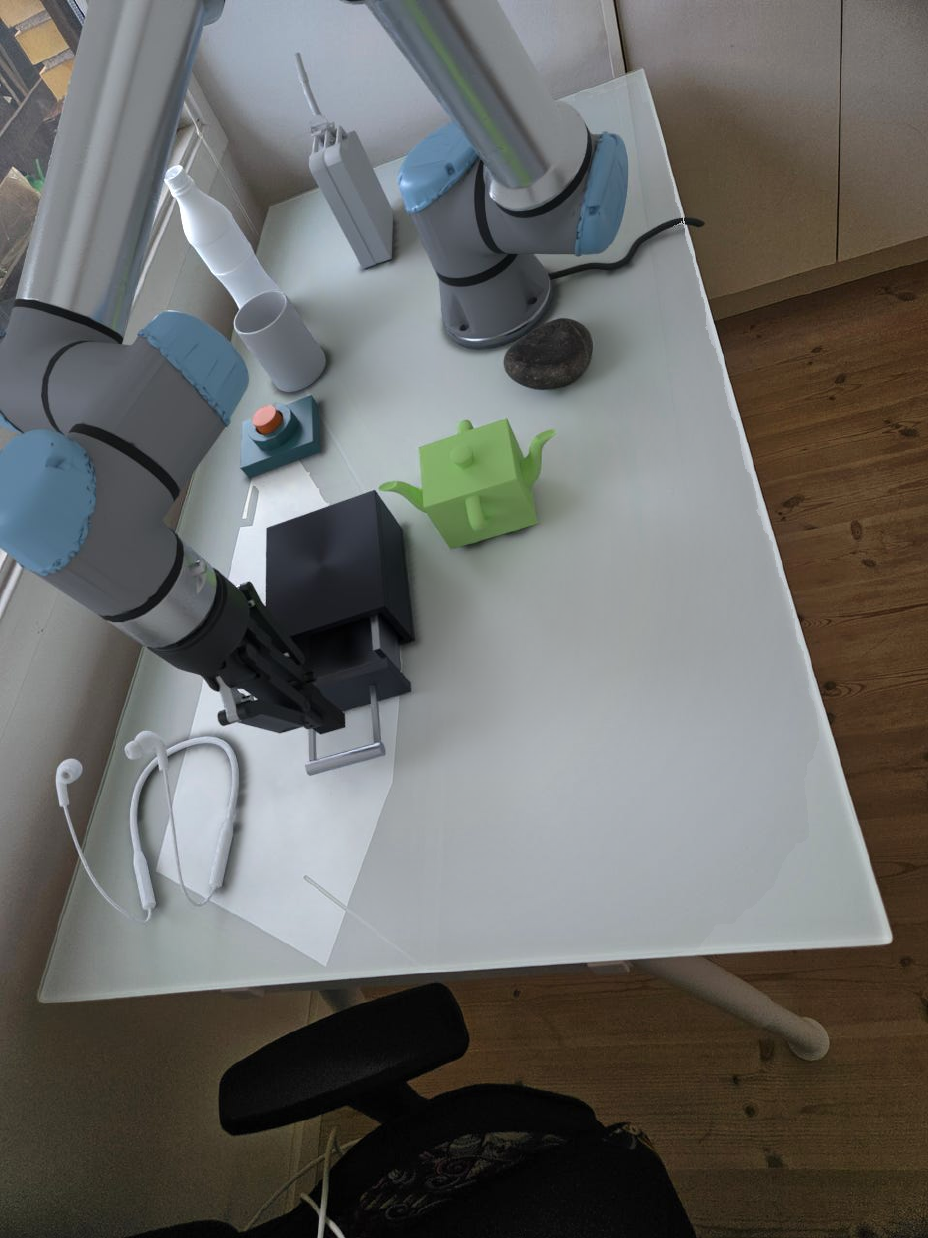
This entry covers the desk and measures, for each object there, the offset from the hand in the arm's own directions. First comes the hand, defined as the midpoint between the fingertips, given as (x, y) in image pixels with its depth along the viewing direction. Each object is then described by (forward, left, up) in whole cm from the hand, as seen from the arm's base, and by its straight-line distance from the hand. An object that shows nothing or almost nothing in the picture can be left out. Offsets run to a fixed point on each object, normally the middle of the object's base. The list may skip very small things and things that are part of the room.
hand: (332, 724), depth 78 cm
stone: (-29, -44, -7) cm, 53 cm away
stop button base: (+9, -49, -7) cm, 50 cm away
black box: (0, -19, -7) cm, 20 cm away
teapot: (-18, -25, -7) cm, 31 cm away
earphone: (+21, +3, -7) cm, 23 cm away
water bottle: (+11, -77, -7) cm, 78 cm away
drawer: (0, -8, -6) cm, 10 cm away
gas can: (-8, -87, -7) cm, 87 cm away
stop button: (+9, -49, -3) cm, 50 cm away
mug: (+6, -64, -7) cm, 65 cm away
